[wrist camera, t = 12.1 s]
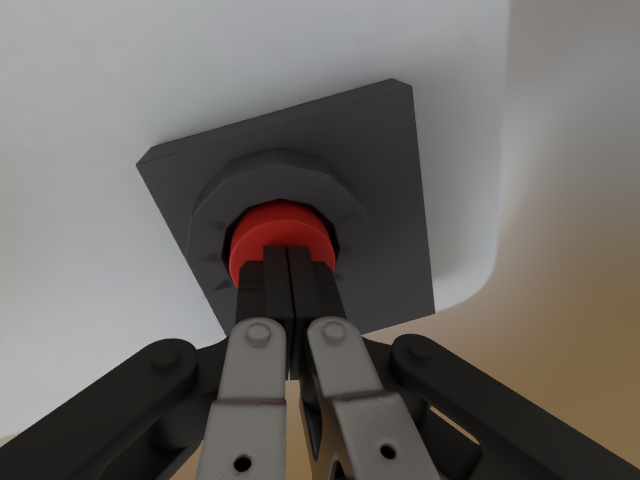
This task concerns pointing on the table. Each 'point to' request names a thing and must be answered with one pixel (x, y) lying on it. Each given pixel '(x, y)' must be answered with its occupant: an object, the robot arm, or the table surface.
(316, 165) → the button block
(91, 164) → the table surface
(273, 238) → the button
